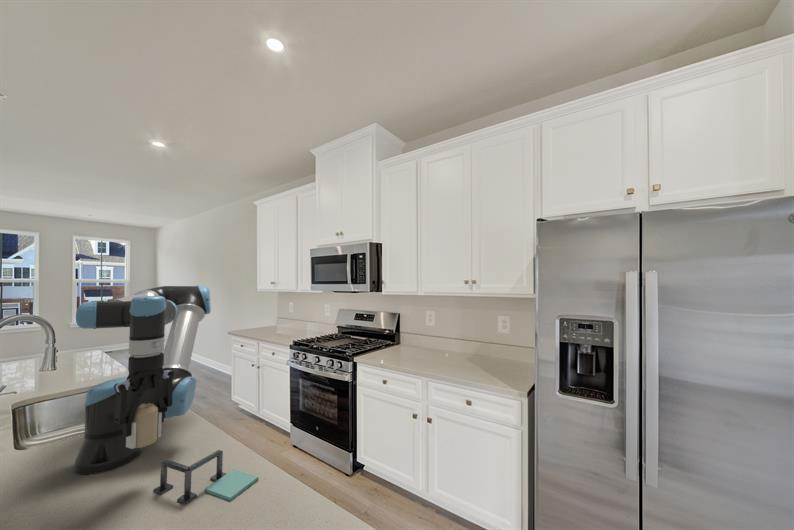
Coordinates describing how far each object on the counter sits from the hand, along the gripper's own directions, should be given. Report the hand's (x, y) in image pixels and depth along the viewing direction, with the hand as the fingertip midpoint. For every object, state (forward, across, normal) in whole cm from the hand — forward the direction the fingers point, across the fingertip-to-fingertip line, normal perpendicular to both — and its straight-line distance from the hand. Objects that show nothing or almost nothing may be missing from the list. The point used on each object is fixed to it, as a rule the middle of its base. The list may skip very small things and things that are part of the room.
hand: (143, 441), depth 86 cm
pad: (+11, +9, -22) cm, 26 cm away
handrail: (+11, +5, -12) cm, 17 cm away
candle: (+1, 0, 0) cm, 1 cm away
